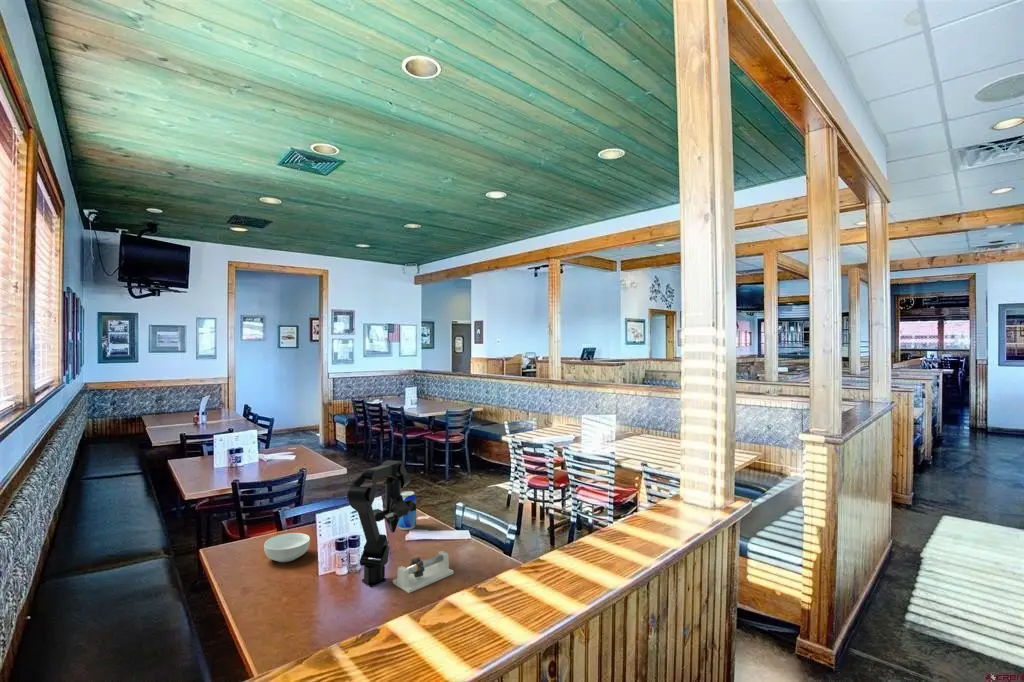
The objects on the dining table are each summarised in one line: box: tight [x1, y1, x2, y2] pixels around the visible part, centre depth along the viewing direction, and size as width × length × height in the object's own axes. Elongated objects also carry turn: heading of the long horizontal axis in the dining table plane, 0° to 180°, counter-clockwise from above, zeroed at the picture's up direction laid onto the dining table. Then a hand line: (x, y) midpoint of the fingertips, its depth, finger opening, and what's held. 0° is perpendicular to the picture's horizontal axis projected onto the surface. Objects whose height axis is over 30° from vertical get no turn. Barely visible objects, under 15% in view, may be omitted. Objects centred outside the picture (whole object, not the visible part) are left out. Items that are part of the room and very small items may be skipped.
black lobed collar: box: [409, 557, 424, 577], centre depth 179 cm, size 2×7×7 cm, turn 46°
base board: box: [392, 550, 455, 594], centre depth 181 cm, size 20×10×6 cm, turn 136°
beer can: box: [397, 490, 417, 531], centre depth 231 cm, size 8×8×16 cm
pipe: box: [406, 554, 443, 574], centre depth 181 cm, size 18×3×3 cm, turn 136°
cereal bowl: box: [263, 532, 311, 563], centre depth 198 cm, size 17×17×7 cm
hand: (392, 532), depth 194 cm, fingers closed
